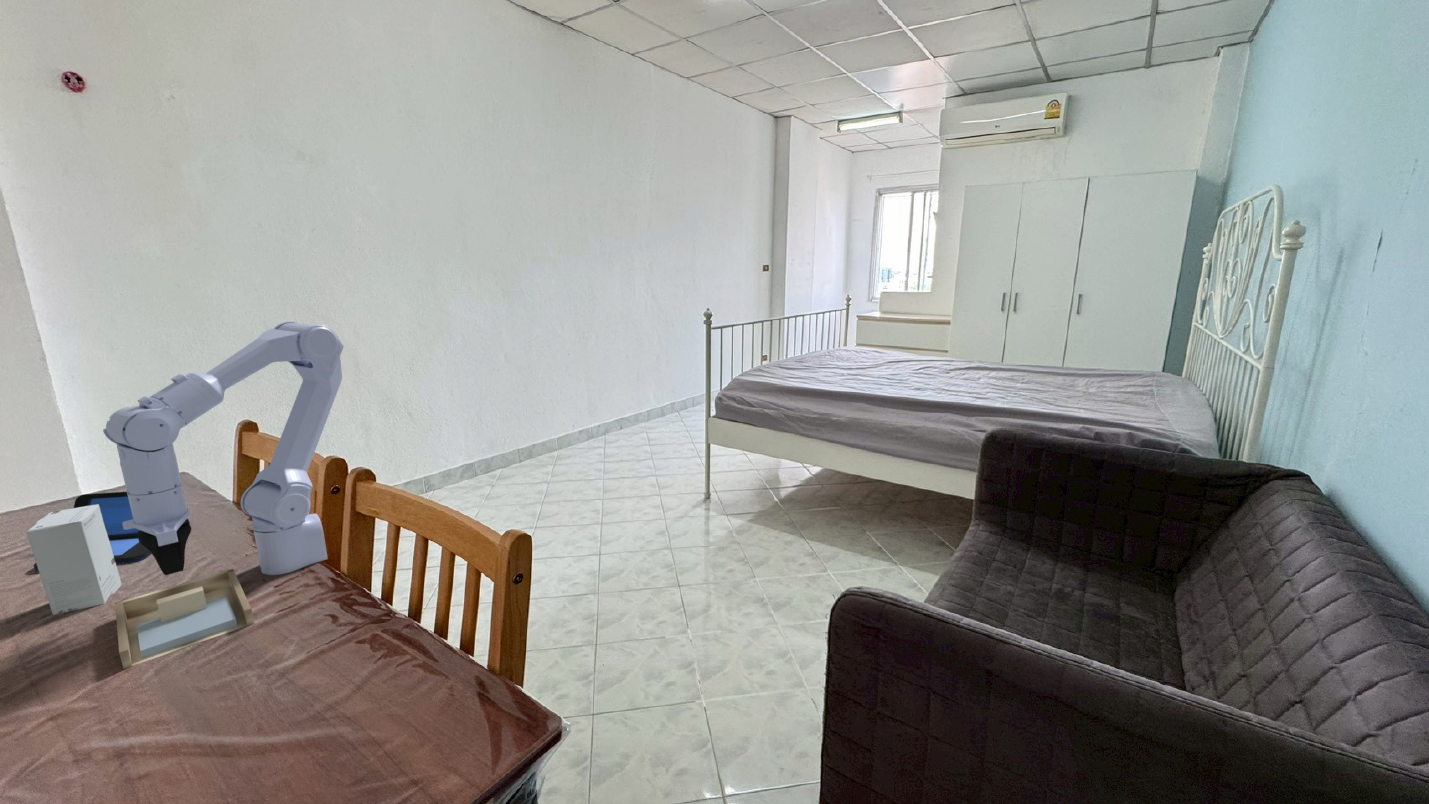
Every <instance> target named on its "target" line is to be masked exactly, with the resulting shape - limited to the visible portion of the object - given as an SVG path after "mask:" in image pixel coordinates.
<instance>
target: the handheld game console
mask: <svg viewBox="0 0 1429 804" xmlns="http://www.w3.org/2000/svg"><path fill="white" fill-rule="evenodd" d="M97 504H98V505H99V507H100V511H101V515H102V518H103V522H104V526H105V529H106V532H107V535H108V538H109V542H110V545H111V549H112V552H113V556H114V559H115V563H116V565H117V564H118V565H119V564H127V563H135V562H140V561H142V560H145V559H147V558H148V557H149V556H150V555H153V554H152V553H151V552H150V551H149V550H148V549H147V548H146V547H145V546H143V545H142V544H141V543H140V542H139V539H138V534H137V532H138V531H139V530H138V529H136V528H132V529H127V530H124V529H123V524H122V523H123V522H124V521H128V520H132V519H133V515H132V511H131V507H130V503H129V499H128V494H127V491H115V492H99V493H86V494H81V495H79V496H77V497H76V499H75V501H74V504H73V508H78V507H84V506H90V505H97ZM33 570H34V571H37V572H39V570H38V567H37V564H36V562H35V563H34V564H33Z"/></svg>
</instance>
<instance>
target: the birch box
mask: <svg viewBox="0 0 1429 804" xmlns="http://www.w3.org/2000/svg"><path fill="white" fill-rule="evenodd" d="M201 586H202V587H203V590H204V594H205V599H206V603H207V602H211V601H214V600H217V599H220V598H223V597H227V598H228V600H229V603H230V605H231V608H232V610H233V612H234V615H235V617H236V621H237V626H235V627H232V628H229V629H226V630H223V631H220V632H218V633H215V634H212V635H209V636H206V637H203V638H200V639H197V640H194V641H192V642H189V643H186V644H183V645H180V646H177V647H174V648H171V649H169V650H166V651H163V652H160V653H157V654H154V655H151V656H148V657H145V658H143V659H142V656H141V652H140V645H139V638H138V631H137V624H141V623H144V622H147V621H150V620H153V619H157V618H160V613H159V609H158V605H157V600H158V599H161V598H164V597H168V596H171V595H174V594H178V593H181V592H185V591H188V590H191V589H195V588H198V587H201ZM114 607H115V620H116V631H117V641H118V643H117V645H118V654H119V657H120V661H121V664H122V669H123V670H125V669H128V668H131V667H134V666H136V665H139V664H143V663H145V662H146V663H147V662H148V661H151V660H154V659H157V658H160V657H162V656H165V655H168V654H171V653H174V652H176V651H177V652H178V651H180V650H183V649H185V648H188V647H191V646H194V645H197V644H199V643H203V642H205V641H208V640H211V639H214V638H217V637H219V636H223V635H225V634H229V633H230V632H231V633H232V632H234V631H237V630H239V629H242V628H246V627H248V626H251V625H254V624H255V621H254V617H253V616H254V615H253V611H252V608H251V605H250V603H249V601H248V598H247V596H246V594H245V592H244V590H243V588H242V585H241V583H240V581H239V578H238V576H237V574H236V572H235V570H234V568H231V569H227V570H224V571H221V572H216V573H213V574H210V575H206V576H203V577H200V578H197V579H193V580H189V581H186V582H182V583H180V584H176V585H172V586H168V587H165V588H162V589H157V590H155V591H151V592H149V593H145V594H141V595H138V596H133V597H130V598H127V599H123V600H120V601H117V602H114Z"/></svg>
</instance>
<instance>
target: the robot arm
mask: <svg viewBox="0 0 1429 804" xmlns="http://www.w3.org/2000/svg"><path fill="white" fill-rule="evenodd" d="M344 347H345V346H344V344H343V342H342V341H341V340H340V338H339V336H338V334H337V333H336V332H335V331H334V330H333V329H332V328H331V327H329V326H327V325H324V324H305V323H298V322H295V321H283V322H281V323H279V324H277V325H275V326H274V328H269V329H268V330H265V331H263V332H262V334H261V335H259V337H257V338H256V339H255V340H253V341H252V342H250V343H249V344H247V345H246V346H243V348H241V349H240V350H238V351H236V352H235V353H234V354H233V355H231V356H229V357H227V359H225V360H224V361H222V362H221V363H218V364H217V365H216V366H214V367H213V368H211V369H209V371H207V372H206V373H199V372H190V373H188V374H186V375H184V374H177V375H175V376H173V377H172V378H171V381H172V383H171V384H168V385H167V386H165V387H164V388H163V389H161V390H159V391H157V392H156V393H153V394H152V395H150V396H146V395H145V396H142V397H141V398H140V397H139V399H137V403H138V406H137V405H132V406H126V407H122V408H120V409H118V410H116V411H114V412H113V413H112V414H111V415H110V416H109V419H108V420H107V421H106V424H105V428H103V430H102V431H103V434H104V435H105V437H106V438H107V439H108V440H109V441H110V442H111V443H114V444H116V449H117V453H118V458H119V464H120V468H121V473H122V477H123V481H124V485H125V490H126V492H127V494H128V499H129V503H130V507H131V511H132V515H133V519H132V520H128V521H124V522H123V523H122V524H123V529H124V530H127V529H132V528H136V529H138V530H139V531H138V532H137V534H138V539H139V542H140V543H141V544H142V545H143V546H145V547H146V548H147V549H148V550H149V551H150V552H151V553H152V554H151V555H152V556H153V558H154V559H155V561H156V563H157V565H158V567H159V568H160V569H159V570H161V572H162V574H163V575H164V576H168V575H172V574H176V573H179V572H182V571H184V567H185V558H186V553H185V552H186V545H187V542H188V538H189V537H190V534H191V532H192V527H191V525H190V520H189V517H190V515H191V513H190V509H189V508H188V507H187V502H186V498H185V493H184V489H183V484H182V479H181V474H180V469H179V465H178V459H177V456H176V452H175V448H174V443H175V442H176V440H177V439H178V438H179V435H180V430H181V429H183V428H185V427H186V426H188V425H189V424H190V423H192V422H193V421H195V420H196V419H198V418H200V417H201V416H203V415H204V414H206V413H207V412H209V411H210V410H212V409H213V408H215V407H217V406H218V405H220V404H221V403H222V402H223V401H224V397H225V391H226V390H227V389H229V388H231V387H233V386H234V385H236V384H237V383H239V382H241V381H243V380H245V379H246V378H248V377H250V376H252V375H253V374H255V373H257V372H259V371H261V370H262V369H265V368H266V367H267V366H269V365H271V364H273V363H278V362H279V363H280V362H281V363H282V362H283V363H285V362H288V363H289V364H290V365H291V366H293V368H295V370H296V372H297V373H298V374H299V376H300V378H302V383H301V385H300V388H299V389H298V393H297V395H296V397H295V400H294V402H293V405H292V408H291V410H290V413H289V415H288V417H287V420H286V423H285V425H284V427H283V431H282V433H281V436H280V438H279V440H278V443H277V446H276V448H275V450H274V453H273V456H272V458H271V461H270V463H269V465H268V466H267V467H265V468H263V469H262V470H260V472H258V473H257V474H256V476H255V479H254V481H253V482H252V484H250V486H249V487H247V489H246V490H245V491H244V492H243V494H242V496H241V499H240V508H241V510H242V512H244V513H245V514H246V515H247V516H250V517H251V519H252V530H253V535H254V539H255V540H254V541H255V545H256V550H257V555H258V556H257V557H258V560H259V566H260V571H261V573H262V574H264V575H268V576H275V575H276V576H278V575H283V574H288V573H292V572H295V571H298V570H300V569H302V568H305V567H307V566H310V565H313V564H316V563H320V562H322V561H325V560H328V553H327V546H326V539H325V534H324V528H323V524H322V522H321V519H320V517H319V515H318V514H317V513H310V510H311V507H312V503H311V493H312V490H313V483H312V481H311V479H310V477H309V474H308V470H309V468H310V466H311V463H312V460H313V458H314V454H315V452H316V450H317V447H318V444H319V441H320V439H321V436H322V433H323V430H324V428H325V425H326V423H327V420H328V419H329V418H328V417H329V415H330V412H331V409H332V407H333V404H334V402H335V399H336V396H337V394H338V391H339V389H340V385H341V383H342V379H343V373H342V372H343V371H342V362H341V355H342V352H343V349H344ZM309 513H310V514H309Z"/></svg>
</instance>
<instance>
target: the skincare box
mask: <svg viewBox="0 0 1429 804" xmlns="http://www.w3.org/2000/svg"><path fill="white" fill-rule="evenodd" d="M26 535H27V539H28V541H29V545H30V548H31V550H32V555H33V557H34V561H35V563H36V564H37V567H38V570H39V571H38V573H39V576H40V579H41V582H42V583H41V584H42V586H43V589H44V591H45V595H46V598H47V601H48V604H49V607H50V611H51V614H52V616H53V615H59V614H64V613H68V612H69V613H70V612H72V611H73V612H74V611H78V610H82V609H87V608H91V607H97V606H100V605H104V604H106V603H107V601H108V599H109V598H110V596H111V595H113V594H115V593H117V591H118V590H119V589H120V588H121V586H122V581H121V577H120V573H119V569H118V567H117V564H116V563H115V559H114V556H113V552H112V549H111V545H110V542H109V538H108V535H107V532H106V529H105V526H104V522H103V518H102V515H101V511H100V507H99V505H98V504H97V505H90V506H84V507H78V508H74V507H73V508H68V509H61V510H56V511H51V512H49V513H47V514H46V515H45V516H44V517H43V518H41V519H38V520H37V521H36V522H35V524H34V525H33V526H31V527H30V528H29V529H28V530H26Z"/></svg>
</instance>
